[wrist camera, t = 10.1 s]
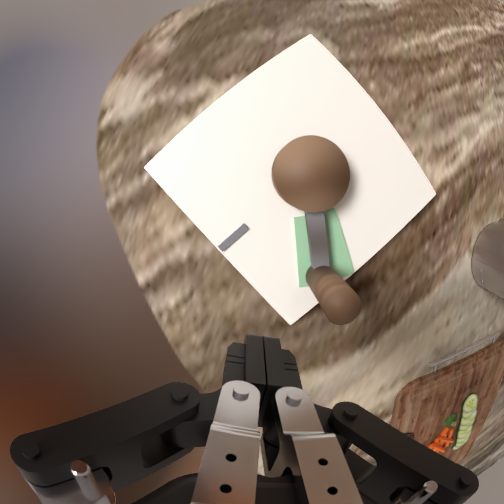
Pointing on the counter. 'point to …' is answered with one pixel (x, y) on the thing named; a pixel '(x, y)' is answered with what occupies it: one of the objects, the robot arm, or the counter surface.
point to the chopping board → (452, 400)
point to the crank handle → (317, 214)
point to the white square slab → (260, 179)
